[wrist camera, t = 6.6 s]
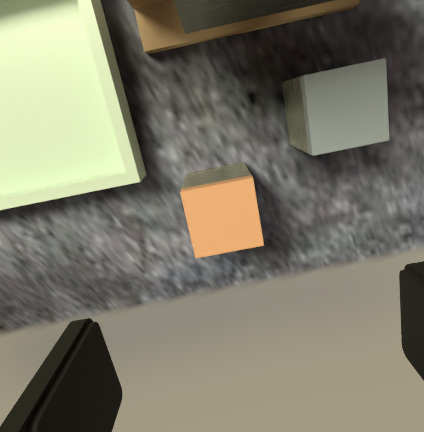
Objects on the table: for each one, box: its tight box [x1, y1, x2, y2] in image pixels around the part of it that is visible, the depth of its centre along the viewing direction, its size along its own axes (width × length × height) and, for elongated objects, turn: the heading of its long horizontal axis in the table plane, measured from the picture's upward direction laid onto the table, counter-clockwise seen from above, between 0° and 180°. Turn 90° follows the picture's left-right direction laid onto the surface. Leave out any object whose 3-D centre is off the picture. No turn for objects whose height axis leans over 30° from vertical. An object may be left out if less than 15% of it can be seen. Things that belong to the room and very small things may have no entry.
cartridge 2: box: [282, 58, 389, 156], centre depth 22 cm, size 4×4×6 cm
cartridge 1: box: [180, 162, 264, 258], centre depth 24 cm, size 4×4×6 cm
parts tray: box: [0, 0, 146, 210], centre depth 23 cm, size 14×14×2 cm
